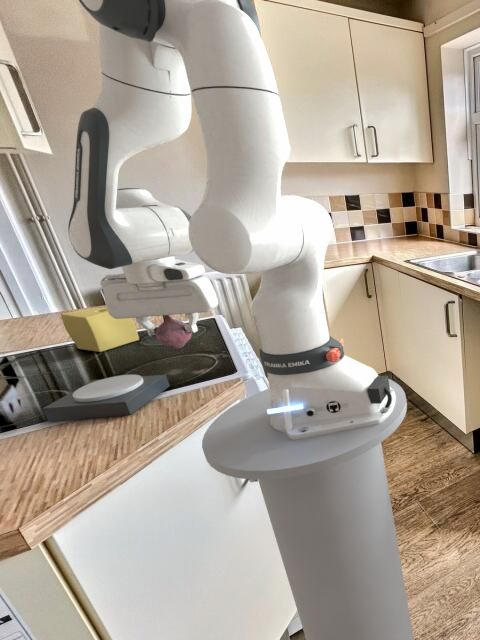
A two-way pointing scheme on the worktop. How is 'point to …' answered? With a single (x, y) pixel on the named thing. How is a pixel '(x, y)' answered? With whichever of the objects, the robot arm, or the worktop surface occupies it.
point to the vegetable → (172, 333)
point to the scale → (107, 397)
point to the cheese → (98, 329)
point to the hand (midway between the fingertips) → (174, 333)
